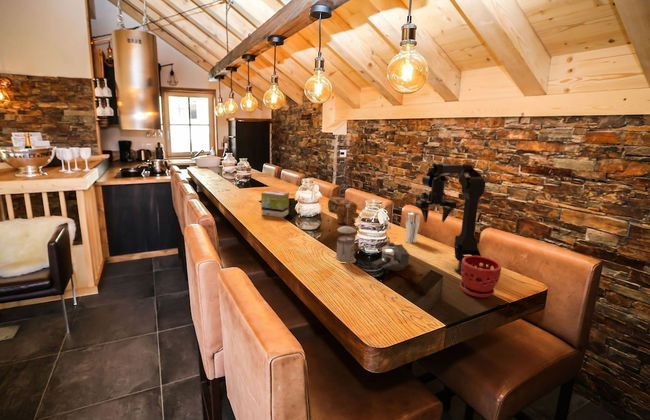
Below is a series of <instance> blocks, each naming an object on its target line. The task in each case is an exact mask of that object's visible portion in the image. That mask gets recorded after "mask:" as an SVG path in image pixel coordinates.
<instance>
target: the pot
mask: <svg viewBox="0 0 650 420" xmlns="http://www.w3.org/2000/svg"><path fill="white" fill-rule="evenodd" d="M370 267H371V268H373V269H377V270H378V269H380V268H384V269H386V270H389V271H394V272H395V271H398V272H399V271H403V270H404V269H406V266H403V265H400V264H399V263H398V261H397V260H396V258H395V257H394V256H390V255H386V254H384V253H383V252H382V251H381V258H379V259H377V260H374V261H372V262H371V266H370Z"/></svg>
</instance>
